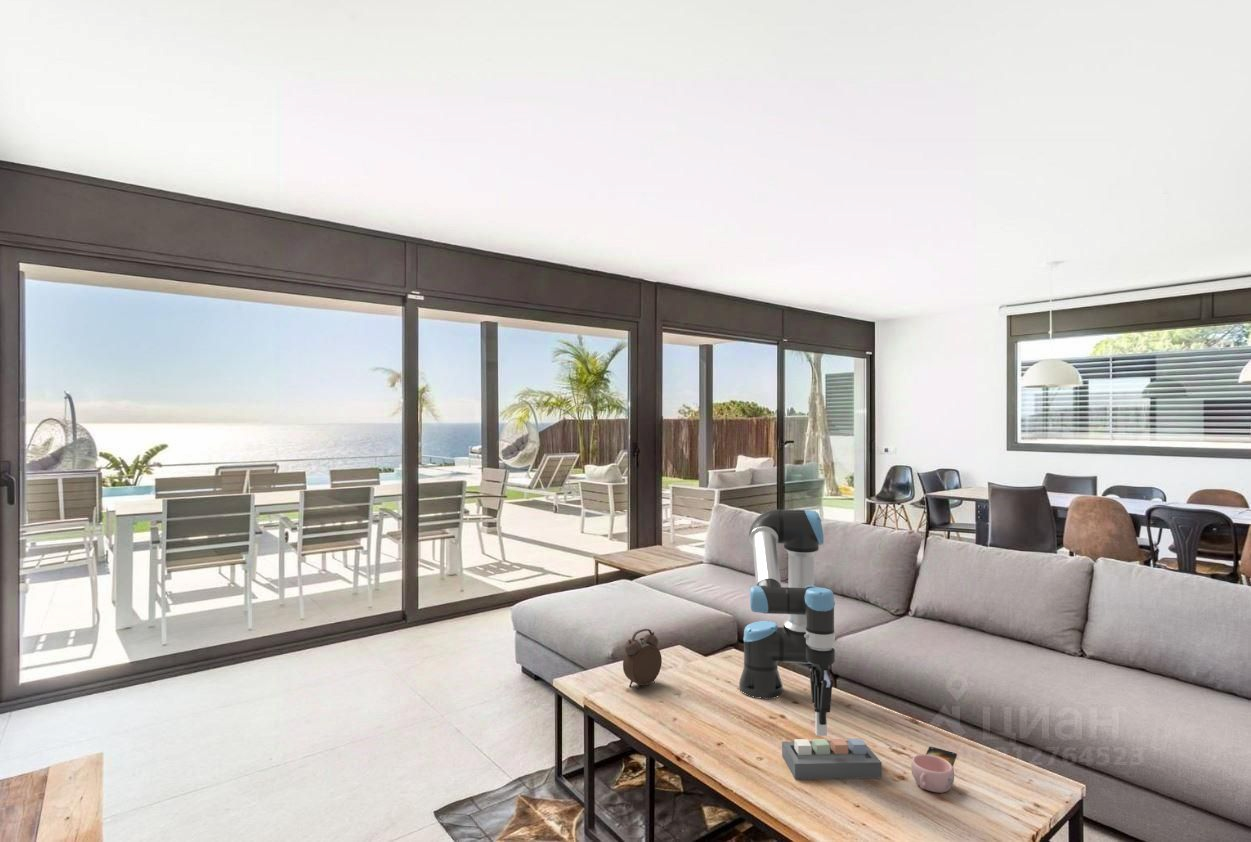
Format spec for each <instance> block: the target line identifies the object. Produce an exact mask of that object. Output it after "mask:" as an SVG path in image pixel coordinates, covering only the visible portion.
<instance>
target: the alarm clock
mask: <svg viewBox="0 0 1251 842" xmlns="http://www.w3.org/2000/svg"><path fill="white" fill-rule="evenodd" d="M642 632H648V634H645V635H644V636H643V637H641V638H639V640H640V641H638V639H636V636H637V635H638V634H640V633H642ZM627 640H628V641H626V642H625V645H624V651H625V655H624V656H623V660H622V669H623V673H624V675H625V677H626V678H627V679H628V680H630V683H629V685H628V687H629V688H631V687H632V685H633V683H635V684H637V687H636V689H637V690H638V689H639V688H640V685H641V686H647V685H648V686H649V684H652V683H653V684H656V681H655V680H656V678H657V677H658V675H659V674H660V673H661V672H660V671H661V668H662V653H661V651H660V650H659V648H658V645H659V639H658V637H657V636H656V635H655V632H654V631H652V630H651V629H649V628H642V629H639V630H636V631H635V632H634V633H633V635H632V638H631V639H627Z"/></svg>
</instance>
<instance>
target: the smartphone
mask: <svg viewBox="0 0 1251 842" xmlns="http://www.w3.org/2000/svg"><path fill="white" fill-rule="evenodd" d="M925 754H927V755H933V756H937V757H940V758H942V759H944V760H946V761H948V762H949V763H950V764H951V765H952V767H953V765H954V762H955V760H956V758H957V753H956V752H953V751H950V750H945V749H942V748H938V747H934V746H929V747H928V749H927V750H926V753H925Z"/></svg>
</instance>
